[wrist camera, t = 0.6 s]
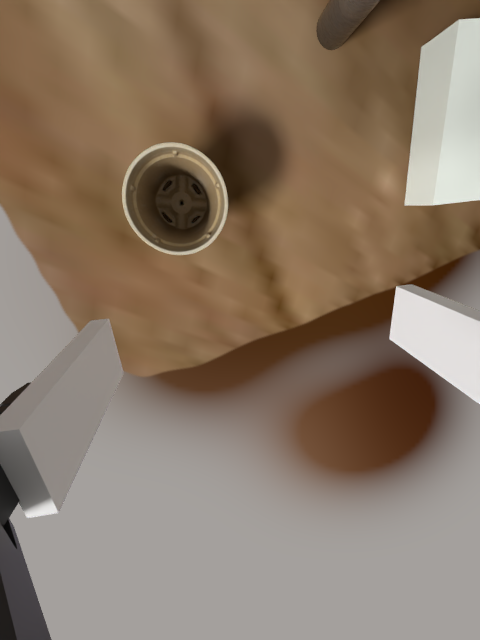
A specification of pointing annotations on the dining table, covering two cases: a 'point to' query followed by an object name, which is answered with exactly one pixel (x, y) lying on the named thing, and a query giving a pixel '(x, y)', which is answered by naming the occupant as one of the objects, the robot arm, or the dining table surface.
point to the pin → (341, 20)
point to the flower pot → (175, 198)
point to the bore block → (447, 119)
